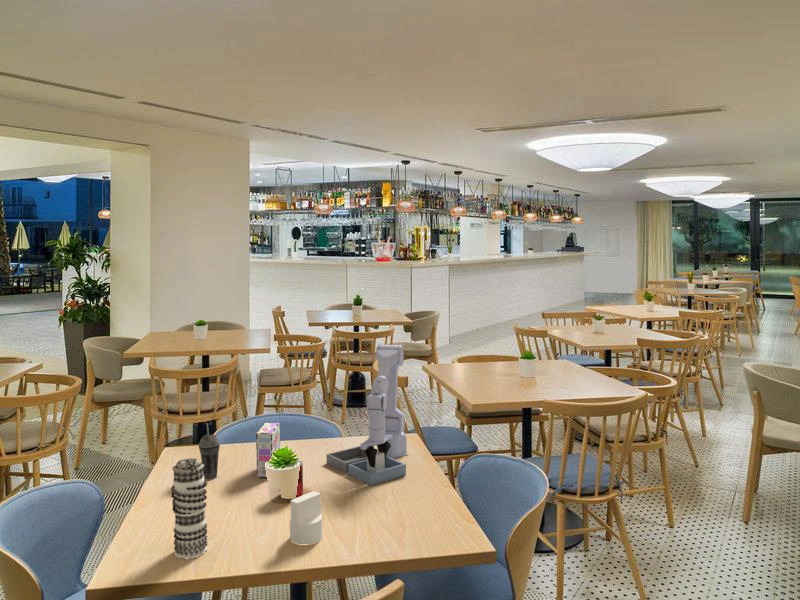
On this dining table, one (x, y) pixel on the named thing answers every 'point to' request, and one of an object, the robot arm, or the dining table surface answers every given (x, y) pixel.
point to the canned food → (300, 481)
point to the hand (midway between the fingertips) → (377, 464)
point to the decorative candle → (189, 508)
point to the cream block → (377, 462)
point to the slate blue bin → (390, 472)
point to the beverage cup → (209, 454)
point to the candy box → (266, 445)
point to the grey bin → (346, 458)
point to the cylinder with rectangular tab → (306, 519)
